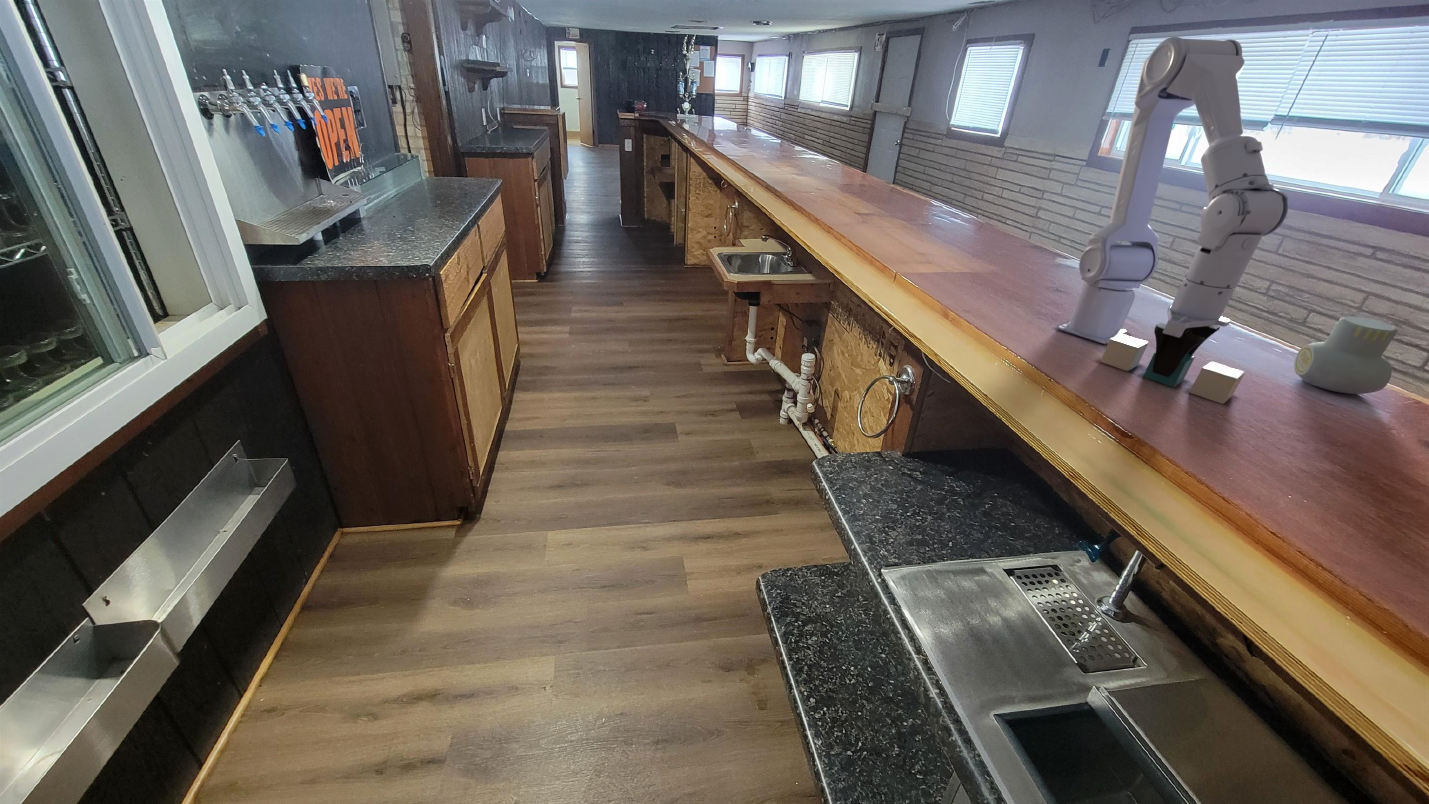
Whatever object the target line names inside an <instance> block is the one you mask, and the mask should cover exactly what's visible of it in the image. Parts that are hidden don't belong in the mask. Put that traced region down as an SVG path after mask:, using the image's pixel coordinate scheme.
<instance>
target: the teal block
mask: <svg viewBox="0 0 1429 804" xmlns="http://www.w3.org/2000/svg"><path fill="white" fill-rule="evenodd" d="M1155 353H1156V351H1155V352H1154V353H1153V355H1152V356H1151V359H1150V360H1149V363H1148V365H1147V367H1146V369H1145V372H1144V374H1143V376H1142V377H1143V378H1145V379H1149V380H1151V381H1155V382H1157V383H1160V384H1163V385H1166V386H1169V387H1172V388H1175V387H1176V386H1177V385H1179V384H1181V383H1182V382H1183V381H1184V379H1185V378H1186V375H1187V374H1188V372H1189V370H1190V368H1191V366H1192V364H1193V362H1194V360H1195V358H1196V356H1195V355H1189V354H1187V355H1186V356H1185V357H1184V359H1183V360H1182V362H1181V363H1180V364H1179V366H1178V367H1177V369H1176V370H1175V371H1174V372H1173V373H1172V374H1171V375H1170V376H1169V377H1165V376H1162V375H1159V374H1156V373H1153V363H1154V358H1155Z"/></svg>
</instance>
